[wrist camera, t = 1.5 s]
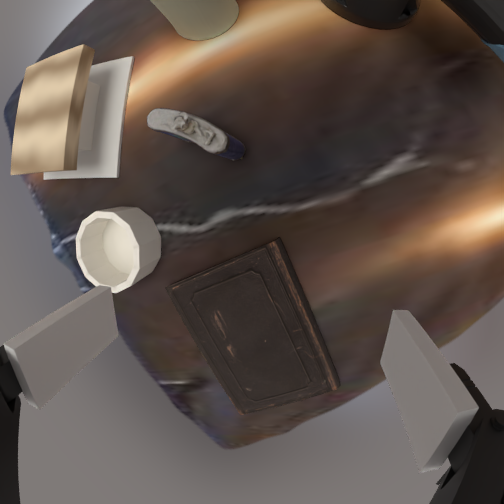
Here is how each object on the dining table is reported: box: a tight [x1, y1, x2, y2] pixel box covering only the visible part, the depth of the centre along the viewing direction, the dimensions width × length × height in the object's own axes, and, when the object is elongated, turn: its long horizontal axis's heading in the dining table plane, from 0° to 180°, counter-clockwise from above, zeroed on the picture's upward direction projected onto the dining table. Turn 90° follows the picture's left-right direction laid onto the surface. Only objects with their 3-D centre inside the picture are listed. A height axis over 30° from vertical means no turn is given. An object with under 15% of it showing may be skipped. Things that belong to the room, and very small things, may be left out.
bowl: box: [76, 207, 161, 293], centre depth 35 cm, size 10×10×6 cm
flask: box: [147, 108, 245, 160], centre depth 28 cm, size 9×3×11 cm, turn 65°
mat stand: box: [44, 56, 134, 180], centre depth 31 cm, size 18×16×7 cm
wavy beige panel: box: [11, 44, 95, 175], centre depth 27 cm, size 16×12×2 cm
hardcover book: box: [165, 237, 340, 415], centre depth 38 cm, size 16×23×2 cm
